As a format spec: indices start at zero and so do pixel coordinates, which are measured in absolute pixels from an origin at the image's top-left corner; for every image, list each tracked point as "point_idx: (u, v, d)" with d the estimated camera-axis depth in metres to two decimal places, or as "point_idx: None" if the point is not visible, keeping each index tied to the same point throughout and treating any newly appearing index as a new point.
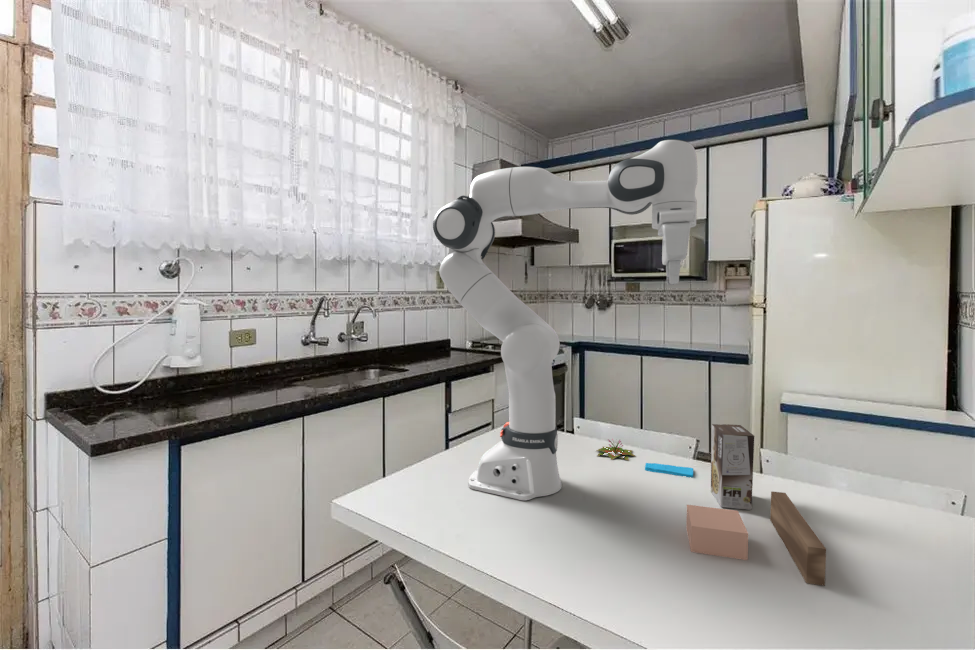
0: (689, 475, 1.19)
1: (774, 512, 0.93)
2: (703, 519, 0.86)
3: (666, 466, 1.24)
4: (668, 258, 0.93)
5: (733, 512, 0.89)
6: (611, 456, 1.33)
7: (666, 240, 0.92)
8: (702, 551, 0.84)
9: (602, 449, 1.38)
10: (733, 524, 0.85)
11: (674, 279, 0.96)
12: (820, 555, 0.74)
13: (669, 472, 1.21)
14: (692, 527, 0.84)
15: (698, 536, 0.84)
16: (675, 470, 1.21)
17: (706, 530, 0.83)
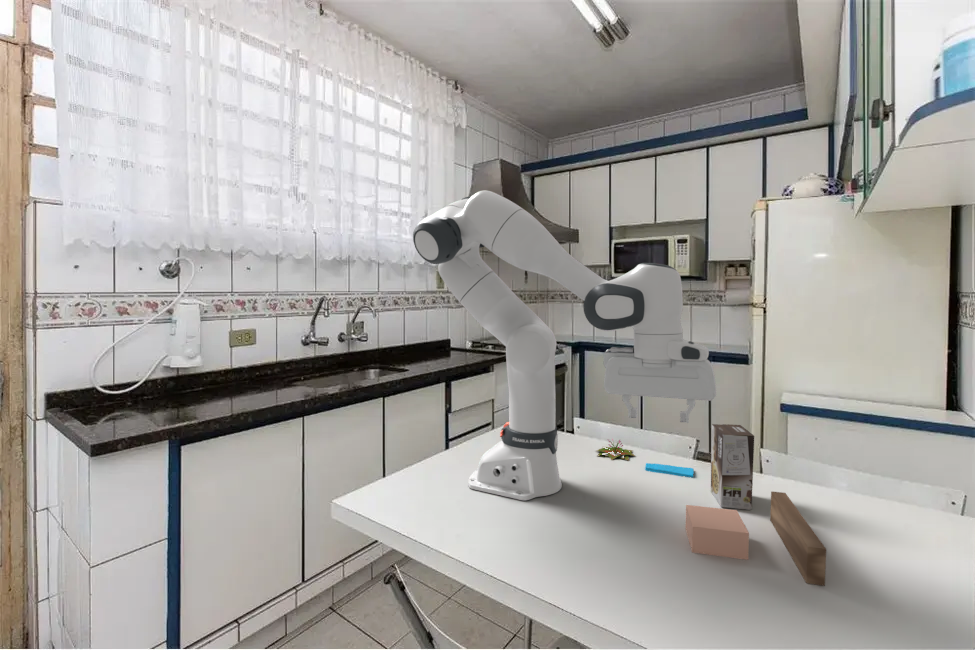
0: (689, 475, 1.19)
1: (774, 512, 0.93)
2: (703, 520, 0.86)
3: (667, 466, 1.24)
4: (712, 399, 0.85)
5: (733, 512, 0.89)
6: (611, 456, 1.33)
7: (714, 381, 0.85)
8: (703, 551, 0.84)
9: (602, 449, 1.38)
10: (733, 523, 0.85)
11: (688, 417, 0.89)
12: (820, 555, 0.74)
13: (669, 472, 1.21)
14: (693, 528, 0.84)
15: (699, 536, 0.84)
16: (676, 470, 1.21)
17: (708, 531, 0.83)
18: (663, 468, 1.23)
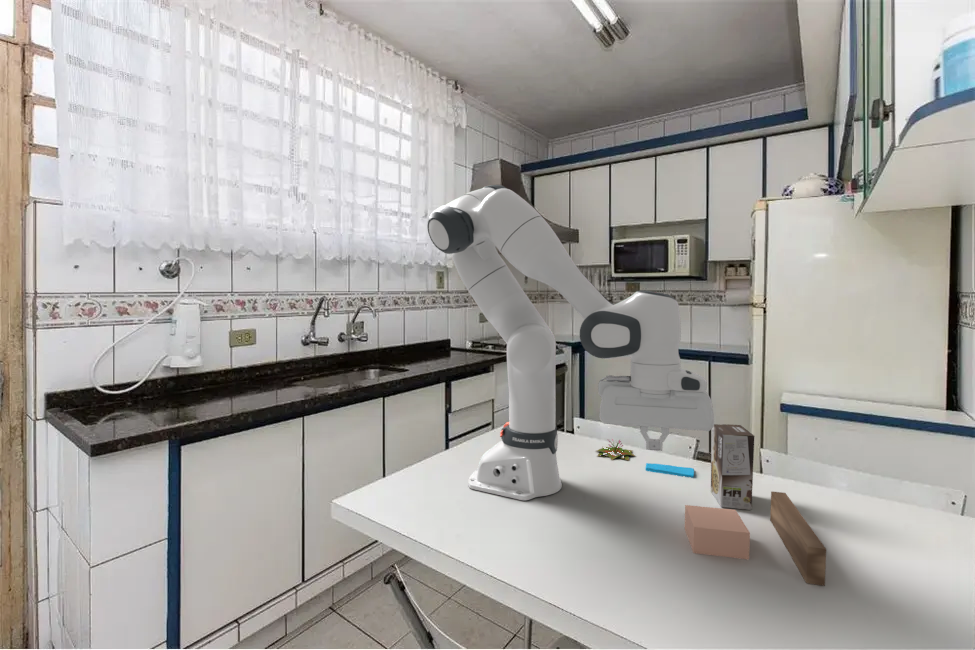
0: (690, 475, 1.19)
1: (774, 512, 0.93)
2: (704, 520, 0.86)
3: (667, 466, 1.24)
4: None
5: (732, 511, 0.89)
6: (611, 456, 1.33)
7: None
8: (704, 552, 0.84)
9: (602, 449, 1.38)
10: (734, 523, 0.85)
11: None
12: (820, 555, 0.74)
13: (670, 472, 1.21)
14: (694, 528, 0.84)
15: (700, 537, 0.84)
16: (676, 470, 1.21)
17: (709, 531, 0.83)
18: (663, 468, 1.23)
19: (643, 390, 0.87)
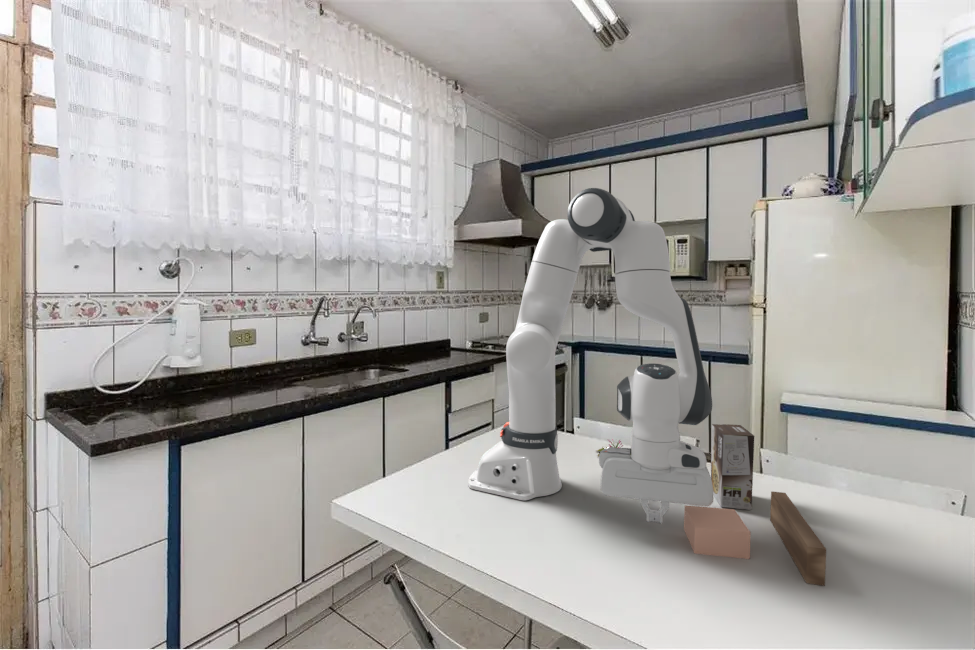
0: None
1: (774, 512, 0.93)
2: (704, 520, 0.86)
3: None
4: (709, 505, 0.86)
5: (731, 511, 0.90)
6: None
7: (712, 488, 0.86)
8: (705, 552, 0.83)
9: (602, 449, 1.38)
10: (734, 523, 0.85)
11: None
12: (820, 555, 0.74)
13: None
14: (695, 529, 0.84)
15: (701, 537, 0.83)
16: None
17: (710, 531, 0.83)
18: None
19: (644, 465, 0.88)
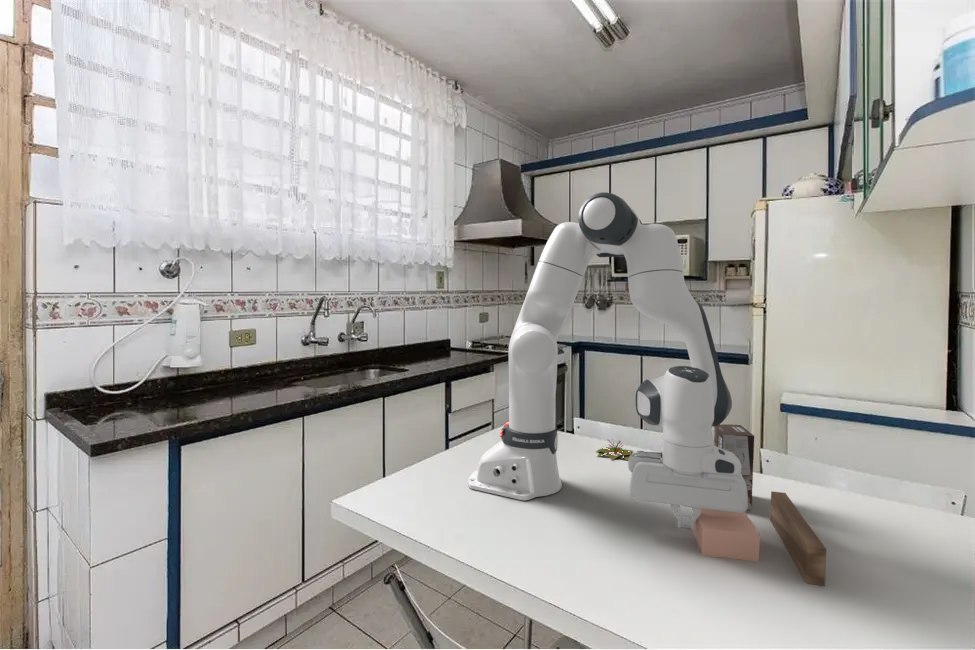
0: None
1: (774, 512, 0.93)
2: (713, 521, 0.86)
3: None
4: (743, 512, 0.84)
5: (740, 513, 0.89)
6: (611, 456, 1.33)
7: (747, 494, 0.83)
8: (714, 554, 0.83)
9: (602, 449, 1.38)
10: (743, 525, 0.84)
11: None
12: (820, 555, 0.74)
13: None
14: (703, 530, 0.83)
15: (709, 538, 0.83)
16: None
17: (718, 532, 0.82)
18: None
19: (675, 469, 0.86)
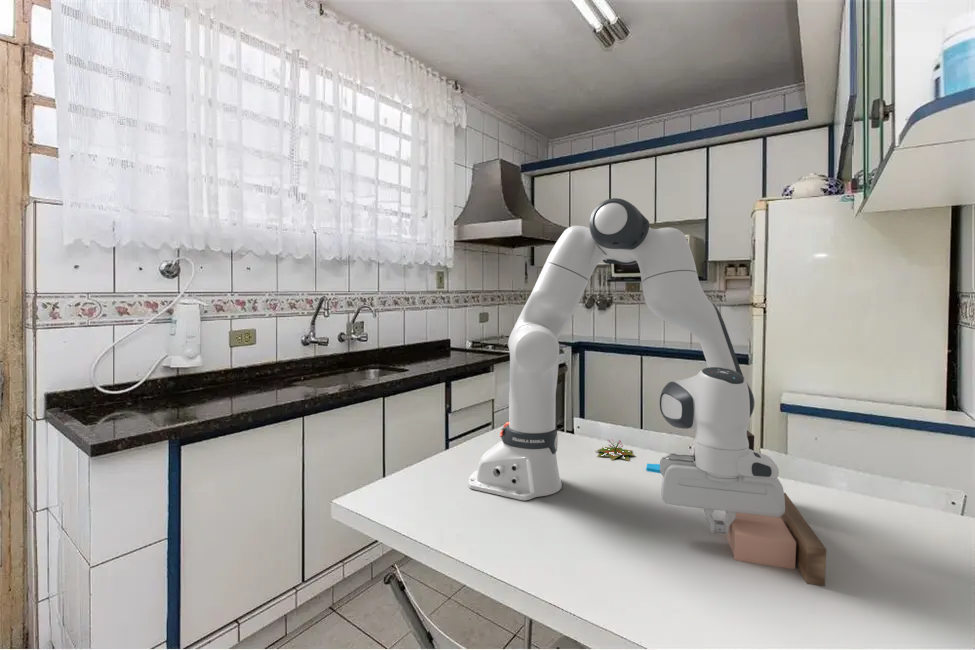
0: None
1: None
2: (747, 527, 0.84)
3: None
4: (780, 516, 0.82)
5: (777, 520, 0.86)
6: (611, 456, 1.33)
7: (784, 498, 0.82)
8: (747, 560, 0.81)
9: (602, 449, 1.38)
10: (779, 532, 0.82)
11: None
12: (820, 555, 0.74)
13: None
14: (736, 535, 0.81)
15: (742, 544, 0.81)
16: None
17: (752, 539, 0.81)
18: None
19: (710, 473, 0.85)
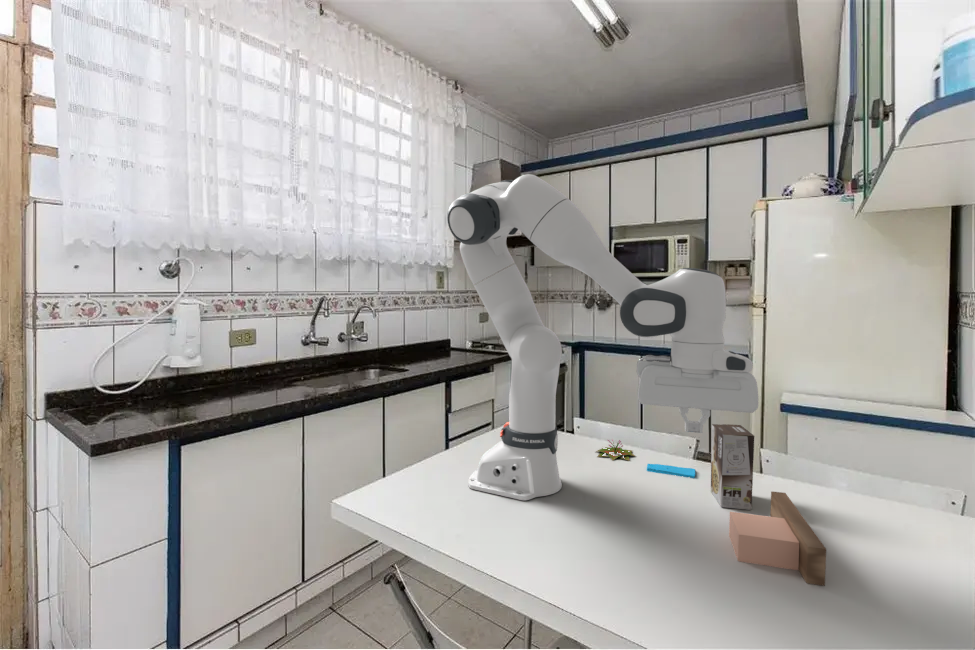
0: (691, 476, 1.18)
1: (774, 512, 0.93)
2: (750, 527, 0.83)
3: (668, 467, 1.24)
4: (753, 411, 0.83)
5: (780, 520, 0.86)
6: (612, 456, 1.33)
7: (757, 392, 0.82)
8: (750, 560, 0.81)
9: (602, 450, 1.38)
10: (782, 532, 0.82)
11: None
12: (820, 555, 0.74)
13: (671, 473, 1.20)
14: (739, 535, 0.81)
15: (745, 545, 0.81)
16: (677, 471, 1.21)
17: (755, 539, 0.80)
18: (665, 468, 1.22)
19: (685, 370, 0.85)
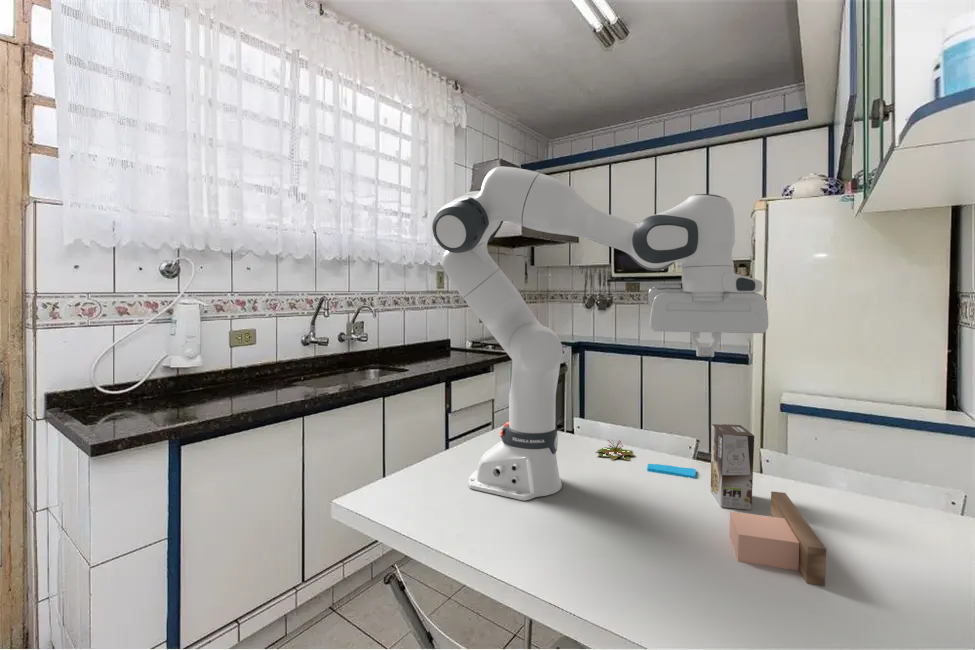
0: (691, 476, 1.18)
1: (774, 512, 0.93)
2: (750, 527, 0.83)
3: (669, 467, 1.24)
4: None
5: (780, 520, 0.86)
6: (612, 457, 1.32)
7: (767, 312, 0.84)
8: (750, 560, 0.81)
9: (602, 450, 1.38)
10: (782, 532, 0.82)
11: None
12: (820, 555, 0.74)
13: (671, 473, 1.20)
14: (739, 536, 0.81)
15: (745, 545, 0.81)
16: (678, 471, 1.21)
17: (755, 539, 0.80)
18: (665, 469, 1.22)
19: (696, 294, 0.87)
